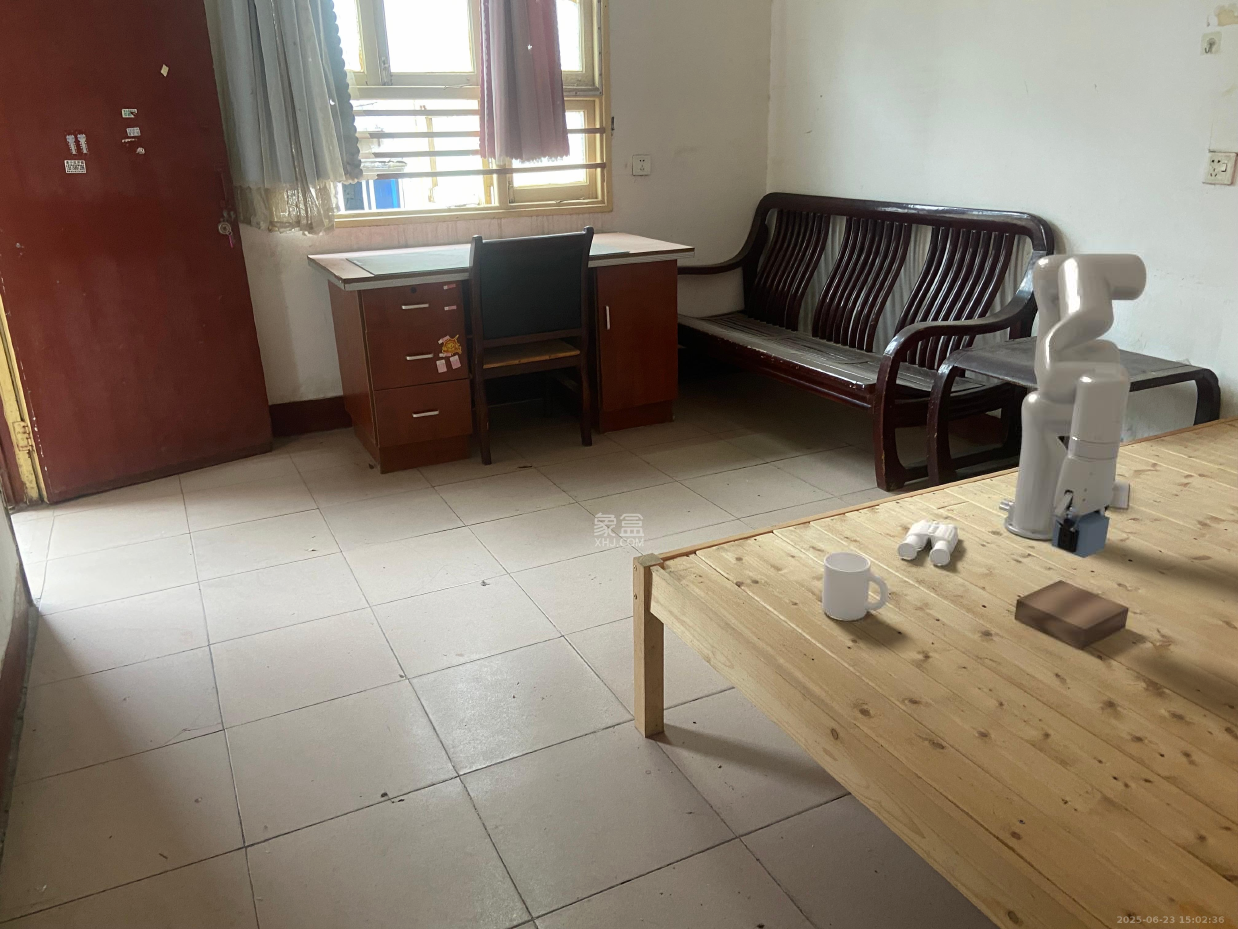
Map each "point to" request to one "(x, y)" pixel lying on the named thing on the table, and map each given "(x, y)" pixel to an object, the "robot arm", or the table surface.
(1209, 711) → the table surface
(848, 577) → the mug
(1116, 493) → the laptop
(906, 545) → the binoculars
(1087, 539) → the slate cube
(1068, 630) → the walnut base
